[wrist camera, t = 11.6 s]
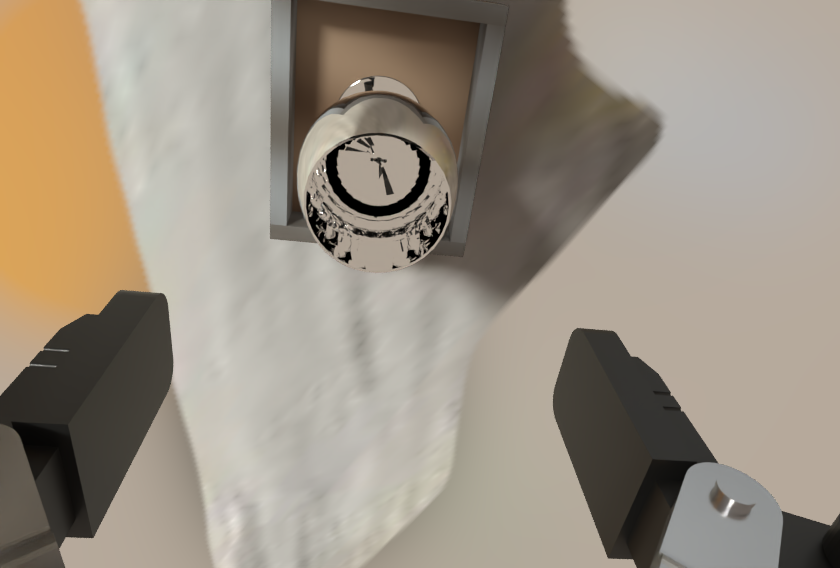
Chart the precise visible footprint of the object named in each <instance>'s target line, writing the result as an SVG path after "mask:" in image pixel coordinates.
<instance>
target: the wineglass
mask: <svg viewBox="0 0 840 568" xmlns="http://www.w3.org/2000/svg"><path fill="white" fill-rule="evenodd" d="M457 189H458V168H457V161H456V155H455V152H454V149H453V146H452V143H451V140H450V138H449V136H448V134H447V132H446V131H445V129H444V127H443V126H442V124H441V123H440V122H439V121H438V119H437V118H436V117H435V116H434V115H433V114H432V113H431V112H430V111H429V110H427V109H426V108H425V107H424V106H422V105H421V104H420V102H419V100H418V99H417V97H416V95H415V94H414V93H413V91H412V90H411V89H410V88H409V87H408V86H407V85H405V84H404V83H402V82H401V81H399V80H397V79H395V78H392V77H388V76H384V75H371V76H367V77H364V78H361V79H359V80H357V81H355V82H353V83H352V84H351V85H350V86H348V87H347V88H346V89H345V90H344V92H343V93H342V95H341V96H340V98H339V100H338V101H337V102H336V103H334V104H332V105H331V106H329V107H328V108H327V109H326V110H325V111H324V112H322V113H321V114H320V115H319V117H318V118H317V119H316V120H315V121H314V123H313V124H312V125H311V127H310V129H309V131H308V132H307V134H306V136H305V138H304V140H303V143H302V146H301V149H300V154H299V159H298V165H297V191H298V197H299V202H300V206H301V210H302V213H303V216H304V218H305V221H306V223H307V225H308V227H309V229H310V231H311V233H312V235H313V237H314V239H315V240H316V242H317V243H318V244H319V245H320V246H321V247H322V249H323V250H324V251H325V252H326V253H327V254H329V255H330V256H331V257H333V258H334V259H335V260H337V261H338V262H340V263H342V264H344V265H345V266H348V267H350V268H353V269H356V270H360V271H365V272H374V273H379V272H391V271H396V270H400V269H403V268H405V267H408V266H411V265H413V264H414V263H416V262H418V261H419V260H421V259H423V258H424V257H425V256H426V255H427V254H428V253H430V252H431V251H432V250H433V249H434V248H435V247H436V245H437V244H438V242H439V241H440V239H441V238H442V237H443V235H444V233H445V230H446V228H447V226H448V224H449V222H450V220H451V217H452V214H453V211H454V207H455V203H456V197H457Z"/></svg>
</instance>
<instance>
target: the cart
mask: <svg viewBox="0 0 840 568" xmlns="http://www.w3.org/2000/svg"><path fill="white" fill-rule="evenodd" d="M508 10H509V6H506V5H503V4H499V3H494V2H487V1H480V0H271V179H270V239H279V240H289V241H300V242H310V243H317V242H316V240H315V239H314V237H313V235H312V233H311V231H310V229H309V227H308V225H307V223H306V221H305V218H304V216H303V213H302V210H301V206H300V202H299V197H298V191H297V165H298V159H299V154H300V149H301V146H302V143H303V140H304V138H305V136H306V134H307V132H308V131H309V129H310V127H311V125H312V124H313V123H314V121H315V120H316V119H317V118H318V117H319V115H320V114H321V113H322V112H324V111H325V110H326V109H327V108H328V107H329V106H331V105H332V104H334V103H336V102H337V101H338V100H339V98H340V96H341V95H342V93H343V92H344V90H345V89H346V88H347V87H348V86H350V85H351V84H352V83H353V82H355V81H357V80H359V79H361V78H364V77H367V76H371V75H384V76H388V77H392V78H395V79H397V80H399V81H401V82H402V83H404V84H405V85H407V86H408V87H409V88H410V89H411V90H412V91H413V93H414V94H415V95H416V97H417V99H418V100H419V102H420V104H421V105H422V106H424V107H425V108H426V109H427V110H429V111H430V112H431V113H432V114H433V115H434V116H435V117H436V118H437V119H438V121H439V122H440V123H441V124H442V126H443V127H444V129H445V131H446V132H447V134H448V136H449V138H450V140H451V143H452V146H453V149H454V152H455V155H456V161H457V168H458V189H457V197H456V203H455V207H454V211H453V214H452V217H451V220H450V222H449V224H448V226H447V228H446V230H445V233H444V235H443V237H442V238H441V239H440V241H439V242H438V244H437V245H436V247H435V248H434V249H433V250H432V251H431V252H430V253H428V254H437V255H448V256H458V257H463V255H464V250H465V244H466V239H467V233H468V228H469V222H470V217H471V211H472V206H473V201H474V195H475V190H476V184H477V179H478V173H479V168H480V162H481V157H482V152H483V146H484V141H485V135H486V130H487V124H488V119H489V113H490V108H491V103H492V97H493V92H494V86H495V81H496V75H497V70H498V64H499V59H500V54H501V48H502V43H503V37H504V32H505V26H506V21H507V16H508Z"/></svg>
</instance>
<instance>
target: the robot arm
mask: <svg viewBox="0 0 840 568" xmlns="http://www.w3.org/2000/svg"><path fill="white" fill-rule="evenodd" d="M172 374H173V352H172V342H171V332H170V321H169V311H168V303H167V299H166V297H165V295H164V294H162V293H151V292H138V291H125V290H120V291H119V292H117V293H116V295H114V297H113V298H112V299H111V300H110V302H109V303H108V304H107V306H105V308H104V309H103V310H102V311H101V313H100V314H99V315H94V314H86V315H84V316H82V317H80V318H79V319H77V320H75V321H73V322H71V323H70V324H68V325H66V326H64V327H63V328H61V329H60V330H59V331H58V332H57V333H56V334H55V335H54V336H53V338H52V339H51V340H50V341H49V342H48V343H47V344H46V345H45V347H44V350H43V351H40V352H39V353H38V354H37V355H36V357H35V358H34V359H33V360H32V361H31V362H30V366H29V367H26V368H25V369H24V370H23V371H22V372H21V373H20V374H19V375H18V377H17V378H16V379H15V380H14V381H13V382H12V383H11V384H10V386H9V387H8V388H7V389H6V390H5V391H4V392H3V393H2V395H1V396H0V568H65V566H64V563H63V560H62V557H61V554H60V551H59V548H60V546H61V544H62V543H63V541H64V539H65V537H77V538H94V536H95V534H96V532H97V529H98V528H99V525H100V524H101V522H102V520H103V518H104V516H105V514H106V512H107V510H108V508H109V506H110V504H111V502H112V500H113V498H114V496H115V494H116V492H117V491H118V489H119V487H120V485H121V483H122V481H123V479H124V477H125V475H126V473H127V471H128V469H129V467H130V465H131V463H132V461H133V459H134V457H135V455H136V453H137V451H138V449H139V447H140V446H141V444H142V442H143V439H144V438H145V436H146V434H147V432H148V430H149V428H150V426H151V424H152V421H153V420H154V418H155V416H156V414H157V412H158V410H159V408H160V406H161V404H162V402H163V400H164V398H165V397H166V395H167V392H168V390H169V387H170V384H171V380H172ZM670 393H671V392H670V391H669V389H668V388H667V386H666V385H665V383H664V382H663V380H662V379H661V377H660V376H659V374H658V373H656V372H655V371H654V370H653V369H652V368H651V367H649V366H648V365H647V364H646V363H644V362H643V361H642V360H641V359H639V358H638V357H631V356H630V354H629V353H628V351H627V350H626V348H625V346H624V345H623V343H622V341H621V340H620V338H619V337H618V335H617V334H616V333H615V332H614V331H607V330H595V329H581V328H577V329H575V330H574V331H573V333H572V334H571V337H570V339H569V343H568V346H567V349H566V352H565V356H564V359H563V362H562V366H561V369H560V372H559V375H558V378H557V382H556V385H555V389H554V395H553V410H554V415H555V419H556V422H557V424H558V427H559V429H560V432H561V435H562V438H563V440H564V443H565V446H566V448H567V451H568V454H569V456H570V459H571V461H572V464H573V467H574V469H575V472H576V475H577V477H578V480H579V483H580V485H581V488H582V490H583V493H584V496H585V499H586V501H587V504H588V507H589V509H590V512H591V514H592V517H593V520H594V522H595V525H596V528H597V530H598V533H599V536H600V538H601V541H602V544H603V546H604V548H605V552H606V554H607V557H608V558H613V559H633V560H634V562H635V564H636V567H637V568H840V514H839V515H838V517H837V518H836V520H835V521H834V522H833V524H832V525H831V526H829V525H826V524H823V523H820V522H816V521H812V520H810V519H806V518H803V517H800V516H796V515H793V514H790V513H787V512H783V511H781V509H780V507H779V505H778V503H777V502H776V500H775V499H774V497H773V496H772V495H771V494H770V493H769V492H768V491H767V490H766V489H765V488H764V487H763V486H762V485H761V484H760V483H758V482H757V481H756V480H754V479H753V478H751V477H749V476H748V475H747V474H745V473H743V472H741V471H739V470H737V469H734V468H732V467H729V466H726V465H723V464H718V462H717V461H716V459H715V458H714V456H713V455H712V453H711V452H710V450H709V449H708V447H707V446H706V444H705V443H704V441H703V440H702V438H701V437H700V435H699V434H698V432H697V431H696V429H695V428H694V426H693V425H692V423H691V422H690V421H689V419H688V417H687V416H686V414H685V413H684V412H681V407H680V405H679V404H678V402H677V401H676V400H675V398H674V397H673V396H671V395H670Z"/></svg>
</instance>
